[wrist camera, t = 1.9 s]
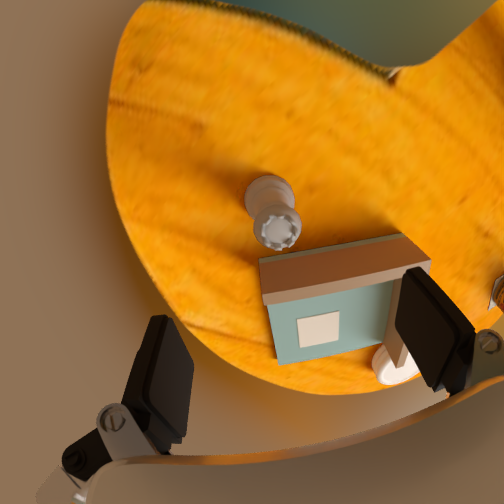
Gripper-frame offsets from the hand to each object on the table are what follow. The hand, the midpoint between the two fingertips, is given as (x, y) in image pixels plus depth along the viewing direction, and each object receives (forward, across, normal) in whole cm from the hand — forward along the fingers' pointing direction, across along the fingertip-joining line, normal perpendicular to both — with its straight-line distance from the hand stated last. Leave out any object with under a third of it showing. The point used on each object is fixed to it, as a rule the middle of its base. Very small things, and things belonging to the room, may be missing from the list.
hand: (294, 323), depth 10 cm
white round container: (+16, -18, +27) cm, 36 cm away
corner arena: (+16, -7, +14) cm, 22 cm away
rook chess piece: (+16, -1, 0) cm, 16 cm away
